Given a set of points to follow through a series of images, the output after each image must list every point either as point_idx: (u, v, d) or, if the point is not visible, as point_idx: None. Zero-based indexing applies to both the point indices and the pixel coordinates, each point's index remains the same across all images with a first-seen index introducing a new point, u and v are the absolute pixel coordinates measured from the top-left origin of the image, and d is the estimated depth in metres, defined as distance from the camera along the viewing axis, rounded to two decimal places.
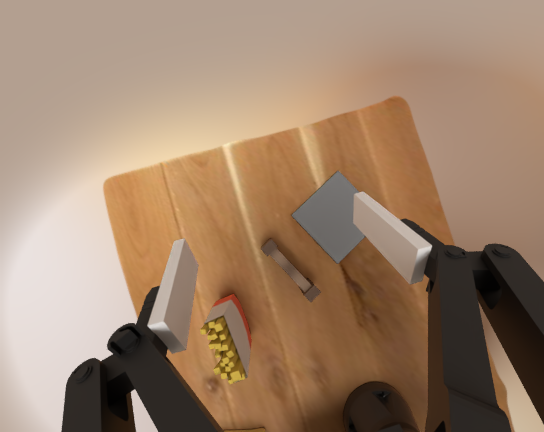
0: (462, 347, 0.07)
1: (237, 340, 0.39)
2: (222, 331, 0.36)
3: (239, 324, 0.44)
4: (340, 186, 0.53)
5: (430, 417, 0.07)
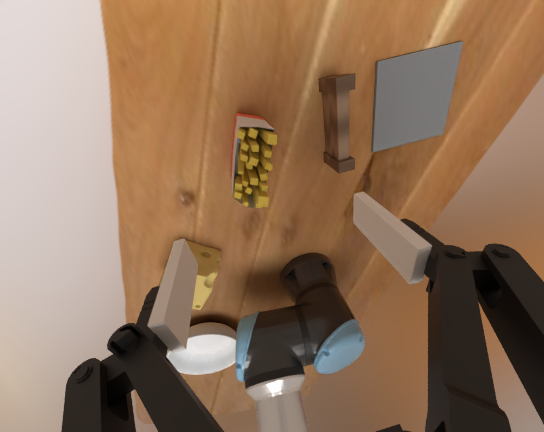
0: (462, 347, 0.07)
1: None
2: (266, 148, 0.27)
3: None
4: (446, 65, 0.40)
5: (430, 417, 0.07)
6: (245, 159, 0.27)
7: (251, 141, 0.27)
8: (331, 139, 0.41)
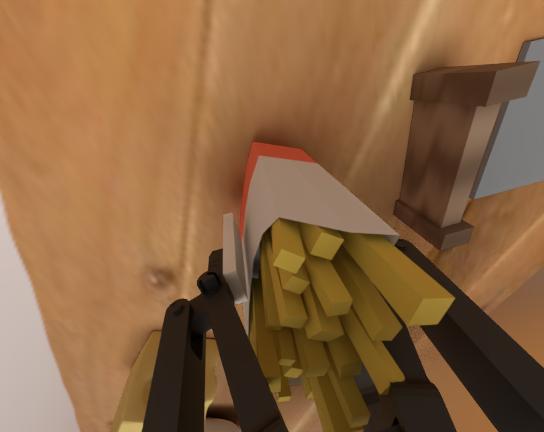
0: None
1: None
2: (370, 295, 0.08)
3: None
4: None
5: (384, 412, 0.08)
6: (297, 323, 0.08)
7: (318, 267, 0.08)
8: (424, 187, 0.22)
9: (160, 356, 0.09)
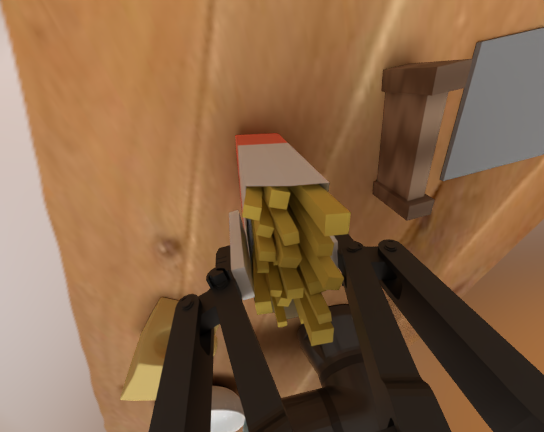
0: (383, 334, 0.08)
1: None
2: (315, 229, 0.11)
3: None
4: None
5: (379, 413, 0.08)
6: (270, 258, 0.12)
7: (277, 216, 0.12)
8: (394, 167, 0.26)
9: (169, 350, 0.09)
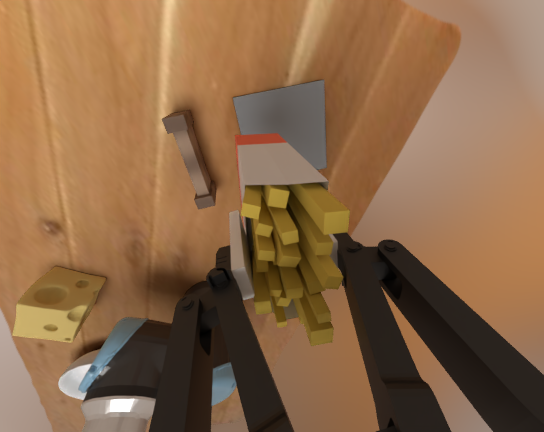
0: (383, 334, 0.08)
1: None
2: (314, 227, 0.11)
3: None
4: (311, 102, 0.39)
5: (379, 413, 0.08)
6: (269, 257, 0.12)
7: (276, 215, 0.12)
8: None
9: (170, 350, 0.09)
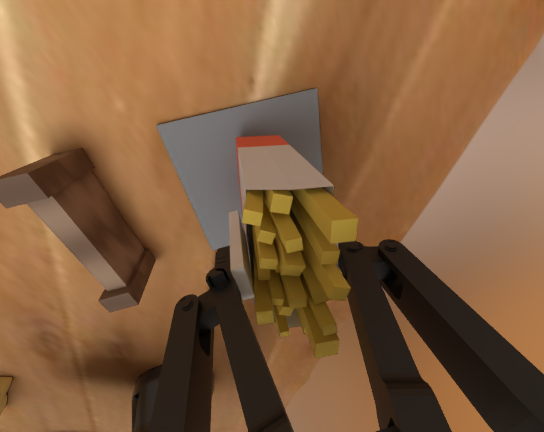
0: (383, 334, 0.08)
1: None
2: (319, 235, 0.11)
3: None
4: (298, 127, 0.23)
5: (379, 413, 0.08)
6: (272, 265, 0.11)
7: (279, 221, 0.11)
8: None
9: (169, 350, 0.09)
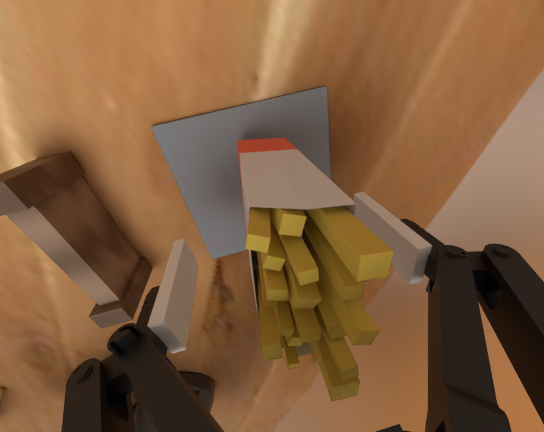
0: (462, 347, 0.07)
1: None
2: (338, 262, 0.09)
3: None
4: (305, 128, 0.21)
5: (430, 417, 0.07)
6: (281, 296, 0.10)
7: (290, 245, 0.09)
8: None
9: None
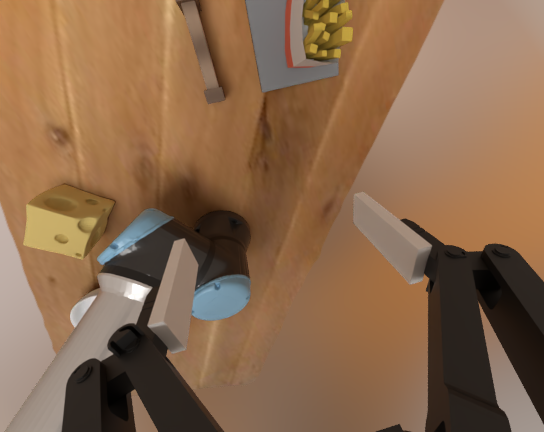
0: (462, 347, 0.07)
1: None
2: None
3: None
4: None
5: (430, 417, 0.07)
6: None
7: None
8: None
9: None
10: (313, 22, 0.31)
